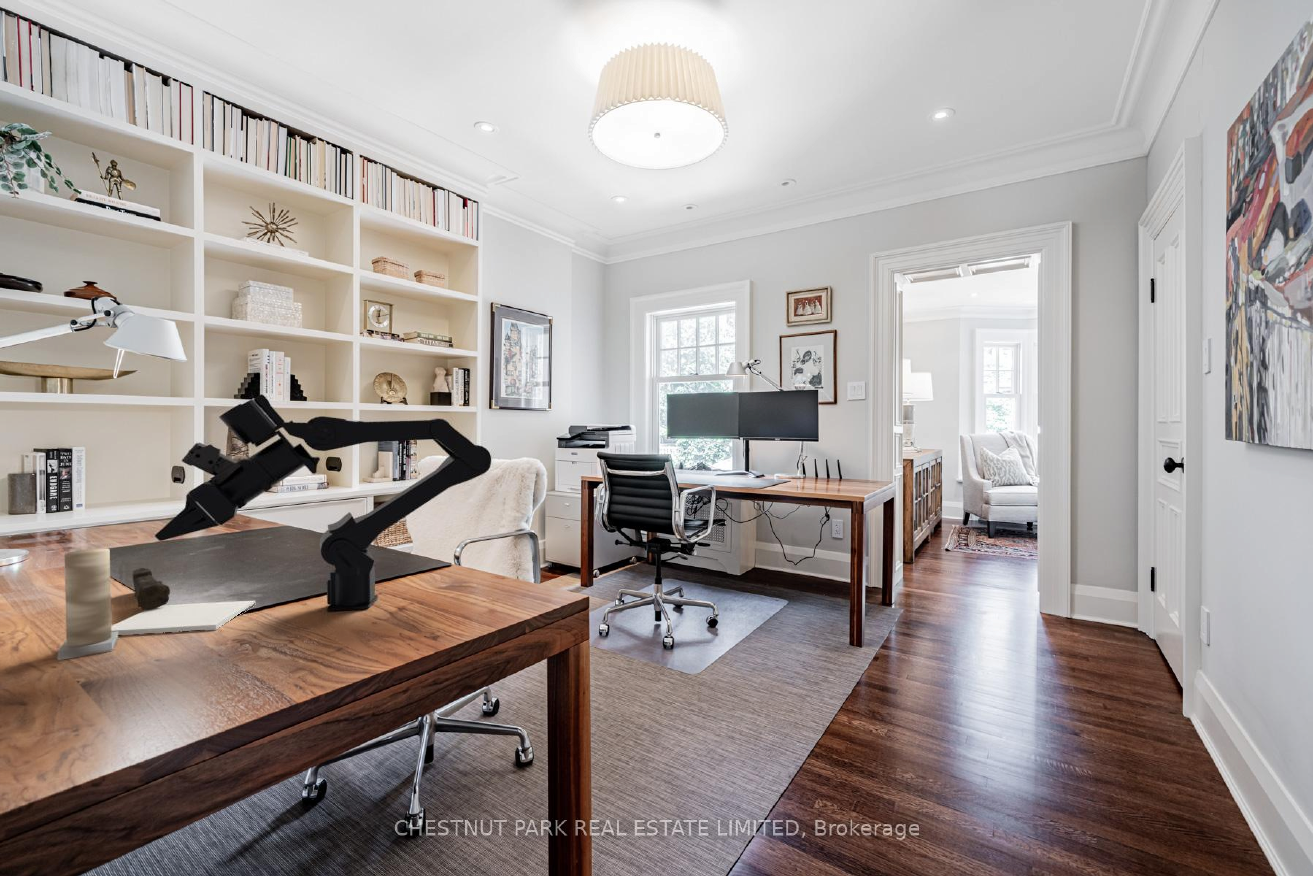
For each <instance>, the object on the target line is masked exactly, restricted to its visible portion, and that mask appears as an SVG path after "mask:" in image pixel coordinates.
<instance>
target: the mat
mask: <svg viewBox="0 0 1313 876" xmlns="http://www.w3.org/2000/svg"><path fill="white" fill-rule="evenodd" d="M254 603H255V604H256V600H242V601H241V600H239V601H218V602H203V603H201V602H200V603H182V604H165V605H162V606H160V607H158V608H155V609H150V610H143V611H141V612H139V613H137V614H134V615H132V616H130V617H128V618H126V619H123V620H121V621H120V622H118V623H115V624H113V625H111V632H116V631H118V635H122V636H134V635H133V634H139V635H145V634H144V633H155V634H166V633H165V632H172V633H183V632H182V631H189V632H191V631H190V630H205V631H216V630H218V629H220V628H221V627H223V626H224V624H225V623H226V622H228V621H229V622H231V621H232V620H231V619H233V618H234V617H235V616H237V615H238V614H240V613H241V612H242V611H244V610H245V609H246V608H248V607H249V606H252V605H253V604H254ZM240 615H241V614H240ZM237 617H238V616H237ZM234 619H235V618H234ZM234 619H233V620H234ZM230 620H231V621H230ZM229 622H228V623H229ZM226 624H227V623H226ZM226 624H225V625H226ZM222 625H223V626H222ZM219 627H220V628H219ZM179 631H180V632H179ZM163 632H164V633H163Z"/></svg>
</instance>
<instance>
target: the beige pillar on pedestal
mask: <svg viewBox="0 0 1313 876" xmlns="http://www.w3.org/2000/svg"><path fill="white" fill-rule="evenodd" d="M110 553H111V552H110V548H105V547H104V548H103V547H102V548H99V547H98V548H86V549H82V550H81V549H80V550H73V551H70V552H66V553H64V582H65V583H64V584H65V585H64V592H65V629H66V630H65V632H66V634H65V635H66V637H65V638H66V641H64V642H63V644H62V645H61V646H60V647H59V649H58V650H57V661H60V660H66V659H67V660H68V659H72V658H79V657H84V656H85V657H86V656H90V655H96V654H102V653H109V652H113V650H114V648H115V646H116V645H115V644H117V643H118V641H119V636H118V631H116V632H111V626H112V602H111V601H112V599H111V597H112V596H111V595H112V594H111V592H112V591H111V554H110ZM117 640H118V641H117ZM116 642H117V643H116ZM112 649H113V650H112Z"/></svg>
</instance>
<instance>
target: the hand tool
mask: <svg viewBox="0 0 1313 876" xmlns="http://www.w3.org/2000/svg"><path fill="white" fill-rule="evenodd" d="M132 582H133V583H132V584H133V587H134V594H135V597H136V598H137V603H138V605H137V607H139V608H140V609H141V610H143V611H145V610H150V609H155V608H158V607H160V606H162V605H167V604H168V602H169V601H170V594H171V589H170V586H168V585H166V584H163V581H162V580H157V579H155V578H154V575H153V572H152V570H151V569H149V568H146V567H145V568H144V567H140V568H136V569H134V571H133V573H132Z"/></svg>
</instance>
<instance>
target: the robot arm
mask: <svg viewBox="0 0 1313 876" xmlns="http://www.w3.org/2000/svg"><path fill="white" fill-rule="evenodd" d="M218 418H219V419H220V420H221V421H222V423H224V425H226V427H227V428H228V429H229V430H230V431H231V432H232V434H234V435H235V436H236V438H238V440H239V441H240V442H241V444H243V445H244V446H248V445H249V444H250V443H251V445H254V446H255V448H258V447H260V446H261V445H263V444H264V443H266V442H268V441H270V440H271V439H273V438H275V437H276V436H278V437H279V438H278V439H277V440H275V441H273V442H272V443H269V444H268V445H266V446H265V447H263V448H262V449H260V450H259V451H257V452H256V453H254V454H252V455H250V456H249V457H247V458H246V457H244V458H242V459H240V460H238V461H237V460H235V459H233V458H231V457H229V456H227V455H226V454H223V453H221V451H222V449H221V448H218V447H215V446H214V445H213V444H208V445H206V444H204V443H202V442H196V443H195V444H193V446H192V447H191V448H190V449H189V450H188V452H187V453H186V455H184V457H183V458H182V459H181V462H182V463H184V464H186V465H188V466H191V467H192V466H193V467H195V468H197V469H199V470H201V471H202V472H205V473H207V474H209V475H212V477H211V478H210V479H209V480H207V481H205V482H203V483H201V484H199V485H197V486H195V488H193V489H191V490H189V491H188V492H187V494H186V495H185V505H184V508H183V509H182V510H181V511H180V512H179V513H178V514H177V515H175V516H174V517H173V518H172V519H171V520H170V521H169V522H168V523H166V524H165V525H164V526H163V527H162V528H161V529H159V531H158V532H157V533H155V535H154V537H155V538H156V539H157V540H158V541H160V542H163V541H167V540H170V539H173V538H176V537H181V536H184V535H188V534H192V533H196V532H199V531H203V530H208V529H211V528H215V527H219V526H220V525H221V526H222V525H224V524H225V523H227V522H229V521H230V520H232V519H233V518H235V516H236V515H237V513H238V510H239V509H242V508H244V507H245V506H246V505H247V504H248V503H250V502H251V501H253V500H255V499H256V498H258V497H259V496H260V495H262V494H263V493H266V492H268V491H269V490H271V489H272V488H273V487H274V486H276V485H277V484H279V483H281V482H282V481H284V480H286V479H287V478H288V477H290V476H292V475H293V474H295V473H297V472H298V471H299V470H301V469H302V468H304V467H306V468H307V469H308V471H309V472H310V473H311V474H313V475H314V474H316V473H317V471H318V470H317V469H318V464H319V462H320V460H321V458H320V456H312V455H311V454H310V453H309V451H308V450H307V449H306V448H305V446H304V445H303V444H301V443H298V444H296V445H293V443H292V442H290V440H289V439H288V438H287V437H286V436H285V435H284V434H283V433H282V431H281V430H280V429H282V428H283V429H284V430H285V432H286V433H287V434H288V435H289V436H292V437H295V438H297V439H302V440H303V441H304V443H305V444H306V445H307V447H309V448H311V449H312V450H314V451H317V452H319V451H321V452H327V451H332V450H336V449H341V448H342V449H343V448H347V447H350V446H355V445H360V444H364V443H365V444H366V443H379V442H380V443H381V442H402V441H403V442H404V441H425V440H427V441H428V440H432V441H434V442H435V443H436V444H437V445H438V446H439V447H440V449H442V451H444V452H445V453H446V454H447V455H448V456H447V457H446V459H444V460H443V461H442V463H441V464H440V465H439V466H438V467H437V468H436V469H435V470H434V471H432V472H431V473H429V474H428V475H426V476H424V477H423V478H421V479H420V480H418V481H416V482H415V483H413V484H412V485H410V486H409V487H407V488H406V489H404V490H403V491H401V492H399V493H397V494H396V495H394V496H393V497H391V498H390V499H388V500H387V501H385V502H383V503H381V504H380V505H379V506H377V507H375V508H374V509H372V510H371V511H370V512H368V513H365V514H364V515H363V514H362V515H361V516H357V517H355V518H354V516H353V514H352V513H351V512H348V513H346V514H344V516H343V517H341V519H339V520H338V521H335V522H333V523H331V524H327V530H326V531H325V532H323V534H322V535H321V537H320V539H319V540H320V541H319V549H320V550H319V551H320V555H321V557H322V559H323V560H324V561H325V562H326V564H328V565H331V566H333V567H334V569H333V570H331V571H330V572H329V579H328V580H326V604H327V605H328V606H327V607H326V611H328V612H332V611H333V612H334V611H350V610H351V611H352V610H367V609H369V608H370V607H371V606H372V605H373V604H374V603H375V602H376V601H377V600H378V599H379V595H378V594H376V574H375V573H376V568H375V565H374V563H375V560H374V558H373V556H372V554H371V553H370V550H368V548H369V547H370V545H372V544H373V542H374V541H375V540H376V539H377V538H378V537H379V535H380V534H382V533H383V532H384V531H386V530H387V529H388V528H391V527H392V526H394V525H395V524H396V523H399V521H401V520H402V519H404V518H405V517H407V516H409V515H410V514H411V513H414V511H416V510H417V509H419V508H421V507H423V505H425V504H427V503H428V502H430V501H432V500H433V499H435V498H436V497H437V496H439V495H440V494H442V493H444V492H445V491H448V489H450V488H452V487H454V486H456V485H460V484H463V483H466V482H468V481H471V480H472V479H475V478H478V477H479V476H483V475H484V474H486V472H488V471H489V470H490V468H491V465H492V455H491V453H490V451H489V450H488V449H487V448H485V447H484V446H483V445H478V444H475V443H473V442H472V441H471V440H470V439H469V438H468V437H466V436H465V435H464V434H462V433H461V432H459V431H458V430H457V429H455V428H454V427H453V426H452V425H451V424H450V423H449V422H448V420H446V419H444V418H432V419H429V420H428V419H427V420H426V419H424V420H423V419H422V420H421V419H420V420H389V421H385V420H384V421H382V420H381V421H363V420H354V419H347V418H346V419H345V418H341V417H340V418H339V417H331V416H324V415H323V416H322V415H321V416H316V417H313V418H311V419H309V420H308V421H307V422H294V420H289V422H286V421H285V420H284V419H283V418H282V417H281V415H280V414H279V413H278V412H277V410H276V409H275V408H274V407H273V406H272V404H271V403H270V401H269V399H267V397H266V396H265V395H264V394H259V395H257V396H256V397H254V398H252V399H250V400H248V401H246V402H243V403H239V404H237V405H236V406H234V407H232V408H230V409H228V410H227V411H225V412H224V413H222V414H221V415H220V416H218Z"/></svg>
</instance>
